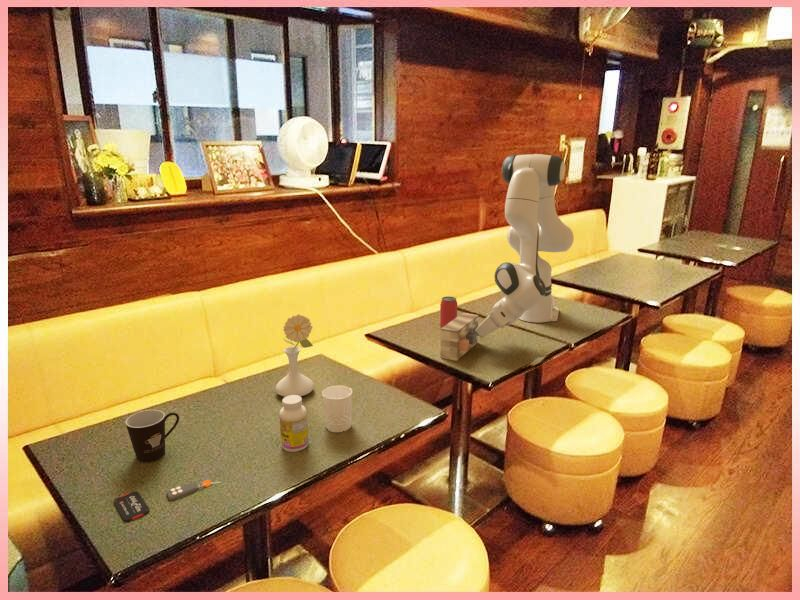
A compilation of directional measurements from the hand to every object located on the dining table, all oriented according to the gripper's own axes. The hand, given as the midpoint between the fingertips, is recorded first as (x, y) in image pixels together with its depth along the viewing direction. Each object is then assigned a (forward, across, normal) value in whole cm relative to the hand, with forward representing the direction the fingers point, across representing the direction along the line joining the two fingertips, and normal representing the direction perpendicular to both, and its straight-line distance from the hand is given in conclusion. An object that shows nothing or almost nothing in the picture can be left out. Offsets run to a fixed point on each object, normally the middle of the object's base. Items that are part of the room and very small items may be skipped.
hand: (478, 333), depth 200 cm
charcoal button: (+1, +7, +1) cm, 7 cm away
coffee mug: (+34, +102, -27) cm, 111 cm away
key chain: (+21, +107, -13) cm, 110 cm away
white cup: (+12, +70, -5) cm, 72 cm away
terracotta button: (+1, +13, +1) cm, 13 cm away
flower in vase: (+27, +60, -20) cm, 69 cm away
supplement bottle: (+15, +83, -8) cm, 85 cm away
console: (+7, +6, 0) cm, 9 cm away
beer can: (+16, -13, -9) cm, 22 cm away
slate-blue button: (+2, 0, -1) cm, 2 cm away
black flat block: (+26, +118, -18) cm, 122 cm away
